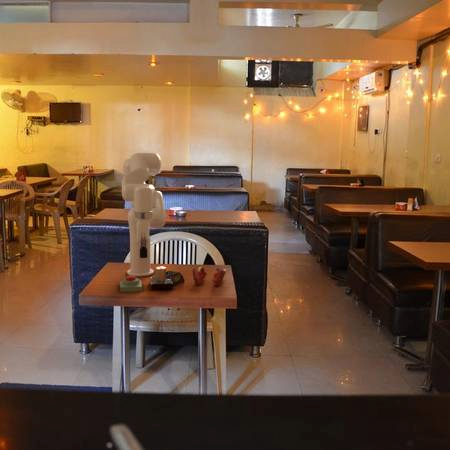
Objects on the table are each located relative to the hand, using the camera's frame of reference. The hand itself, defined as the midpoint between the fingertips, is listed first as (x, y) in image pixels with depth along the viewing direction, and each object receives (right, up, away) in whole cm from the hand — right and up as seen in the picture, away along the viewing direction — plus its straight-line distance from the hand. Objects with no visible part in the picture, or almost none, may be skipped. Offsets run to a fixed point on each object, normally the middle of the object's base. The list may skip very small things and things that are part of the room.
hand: (143, 257), depth 221 cm
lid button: (-6, -10, 0) cm, 11 cm away
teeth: (+28, -12, +11) cm, 33 cm away
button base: (-6, -13, +1) cm, 15 cm away
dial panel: (+7, -13, +4) cm, 15 cm away
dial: (+7, -10, +4) cm, 13 cm away
